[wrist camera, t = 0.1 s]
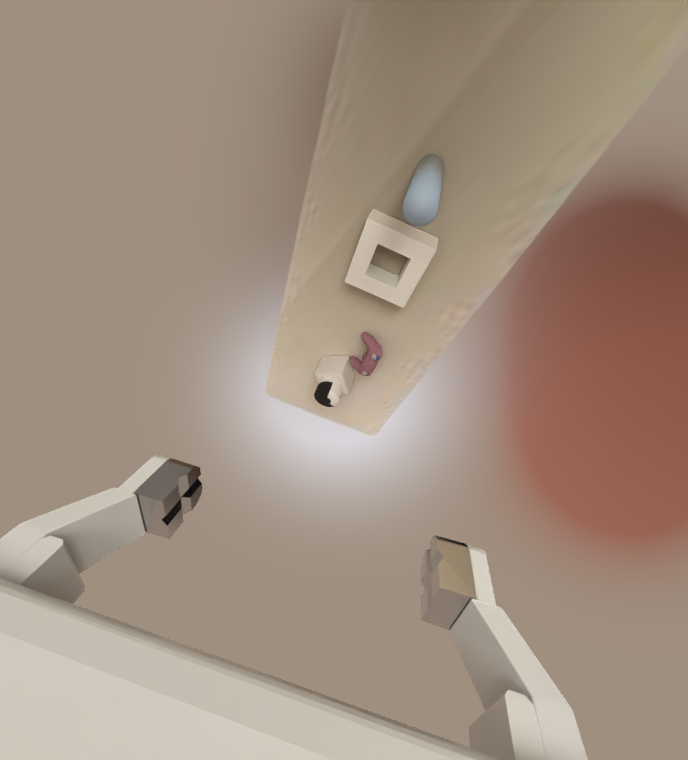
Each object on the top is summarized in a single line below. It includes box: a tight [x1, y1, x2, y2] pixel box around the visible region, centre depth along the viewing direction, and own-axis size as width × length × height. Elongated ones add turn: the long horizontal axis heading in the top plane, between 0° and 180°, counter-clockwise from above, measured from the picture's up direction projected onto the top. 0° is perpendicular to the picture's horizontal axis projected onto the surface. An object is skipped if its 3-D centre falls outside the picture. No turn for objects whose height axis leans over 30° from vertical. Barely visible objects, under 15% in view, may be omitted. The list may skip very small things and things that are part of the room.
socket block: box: [344, 208, 438, 308], centre depth 55 cm, size 12×12×4 cm
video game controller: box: [350, 332, 382, 376], centre depth 72 cm, size 10×5×7 cm, turn 162°
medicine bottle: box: [314, 355, 355, 407], centre depth 76 cm, size 7×7×12 cm
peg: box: [402, 154, 444, 226], centre depth 41 cm, size 4×4×16 cm
